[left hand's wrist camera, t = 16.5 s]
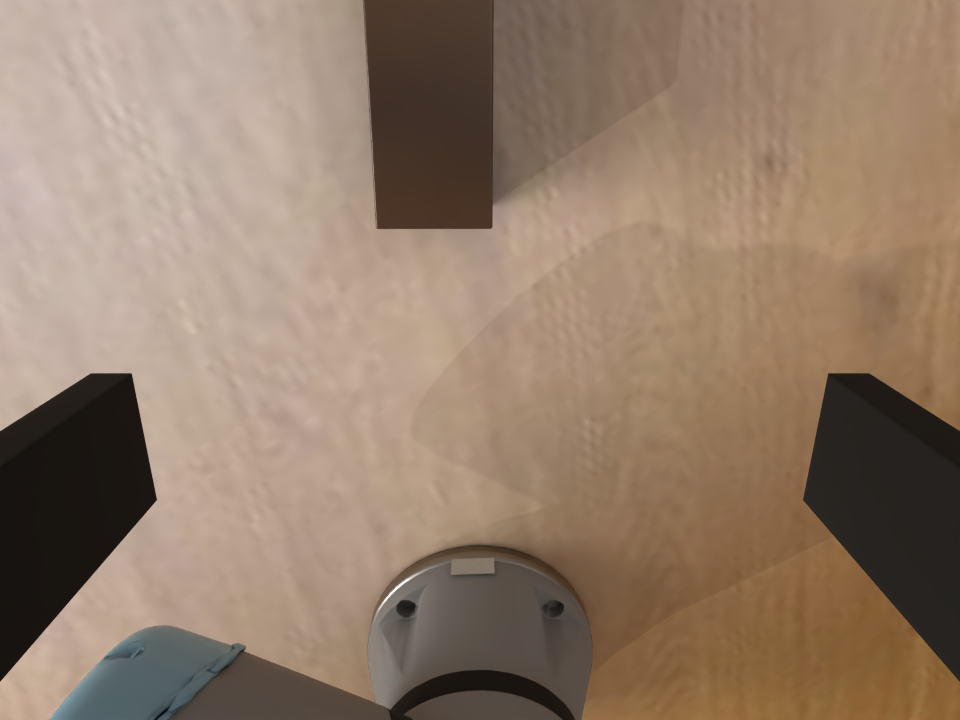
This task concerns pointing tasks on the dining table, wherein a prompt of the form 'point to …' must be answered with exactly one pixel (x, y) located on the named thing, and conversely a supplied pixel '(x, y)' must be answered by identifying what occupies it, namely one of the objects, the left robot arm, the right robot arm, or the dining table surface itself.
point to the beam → (431, 112)
